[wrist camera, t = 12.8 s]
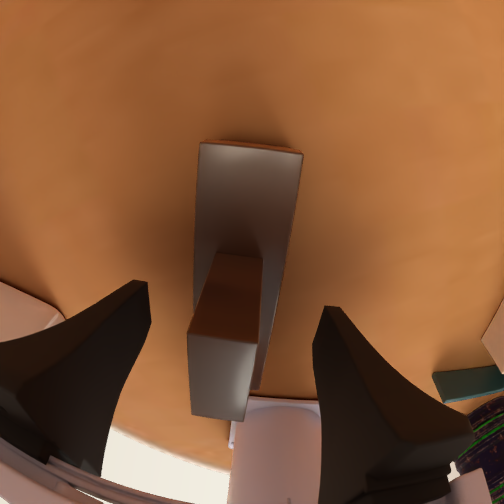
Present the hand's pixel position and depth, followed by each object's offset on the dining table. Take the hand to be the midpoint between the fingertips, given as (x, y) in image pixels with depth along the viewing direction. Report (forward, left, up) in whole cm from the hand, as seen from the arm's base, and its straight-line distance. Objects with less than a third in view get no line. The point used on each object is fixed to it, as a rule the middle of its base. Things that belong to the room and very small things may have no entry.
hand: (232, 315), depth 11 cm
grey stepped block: (0, 0, -4) cm, 5 cm away
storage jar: (-19, -31, -5) cm, 37 cm away
